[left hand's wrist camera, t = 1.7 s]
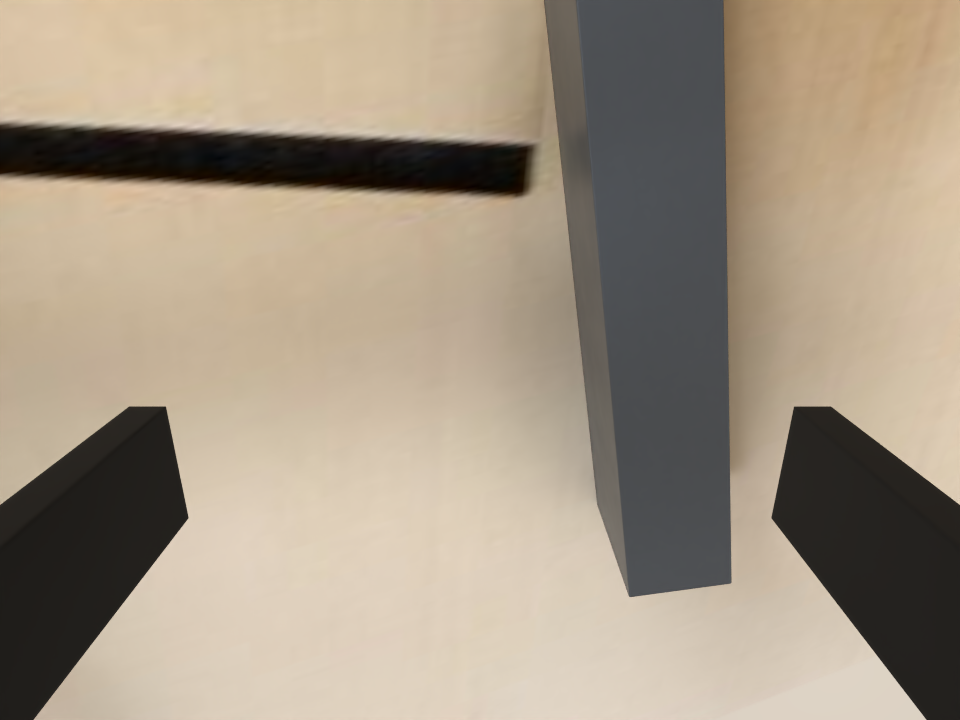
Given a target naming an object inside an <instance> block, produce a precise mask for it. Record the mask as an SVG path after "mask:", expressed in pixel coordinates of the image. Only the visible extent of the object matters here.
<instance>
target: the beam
mask: <svg viewBox="0 0 960 720" xmlns="http://www.w3.org/2000/svg"><path fill="white" fill-rule="evenodd" d="M544 4H545V13H546V23H547V32H548V42H549V51H550V61H551V70H552V79H553V89H554V98H555V108H556V117H557V127H558V136H559V146H560V155H561V165H562V174H563V184H564V193H565V203H566V212H567V222H568V231H569V240H570V250H571V259H572V269H573V278H574V288H575V297H576V307H577V316H578V326H579V335H580V345H581V354H582V364H583V373H584V382H585V392H586V401H587V411H588V420H589V430H590V439H591V449H592V458H593V468H594V477H595V487H596V496H597V505H598V508H599V511H600V514H601V517H602V519H603V522H604V525H605V528H606V531H607V534H608V537H609V540H610V543H611V546H612V548H613V551H614V554H615V557H616V560H617V563H618V566H619V569H620V572H621V574H622V577H623V580H624V583H625V586H626V589H627V592H628V595H629V597H634V596H642V595H649V594H656V593H664V592H671V591H679V590H686V589H693V588H701V587H708V586H716V585H723V584H730V583H731V522H730V449H729V375H728V302H727V229H726V156H725V83H724V10H723V0H544Z"/></svg>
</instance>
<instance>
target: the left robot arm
mask: <svg viewBox="0 0 960 720" xmlns="http://www.w3.org/2000/svg"><path fill="white" fill-rule="evenodd" d="M187 519H188V513H187V508H186V503H185V498H184V493H183V488H182V484H181V479H180V474H179V469H178V464H177V459H176V454H175V449H174V444H173V439H172V434H171V430H170V425H169V420H168V415H167V410H166V407H128V408H127V409H125V410H124V411H123V412H122V413H120V414H119V415H118V416H116V417H115V418H114V419H112V420H111V421H110V422H108V423H107V424H106V425H104V426H103V427H102V428H101V429H99V430H98V431H97V432H95V433H94V434H93V435H91V436H90V437H89V438H87V439H86V440H85V441H84V442H82V443H81V444H80V445H78V446H77V447H76V448H74V449H73V450H72V451H70V452H69V453H68V454H66V455H65V456H64V457H63V458H61V459H60V460H59V461H57V462H56V463H55V464H53V465H52V466H51V467H49V468H48V469H47V470H46V471H44V472H43V473H42V474H40V475H39V476H38V477H36V478H35V479H34V480H32V481H31V482H30V483H28V484H27V485H26V486H25V487H23V488H22V489H21V490H19V491H18V492H17V493H15V494H14V495H13V496H11V497H10V498H9V499H7V500H6V501H5V502H4V503H2V504H1V505H0V720H34V718H35V717H36V716H37V714H38V713H39V712H40V711H41V709H42V708H43V707H44V705H45V704H46V703H47V701H48V700H49V699H50V698H51V696H52V695H53V694H54V692H55V691H56V690H57V688H58V687H59V686H60V685H61V683H62V682H63V681H64V679H65V678H66V677H67V675H68V674H69V673H70V672H71V670H72V669H73V668H74V666H75V665H76V664H77V662H78V661H79V660H80V658H81V657H82V656H83V655H84V653H85V652H86V651H87V649H88V648H89V647H90V645H91V644H92V643H93V642H94V640H95V639H96V638H97V636H98V635H99V634H100V632H101V631H102V630H103V629H104V627H105V626H106V625H107V623H108V622H109V621H110V619H111V618H112V617H113V616H114V614H115V613H116V612H117V610H118V609H119V608H120V606H121V605H122V604H123V603H124V601H125V600H126V599H127V597H128V596H129V595H130V593H131V592H132V591H133V590H134V588H135V587H136V586H137V584H138V583H139V582H140V580H141V579H142V578H143V577H144V575H145V574H146V573H147V571H148V570H149V569H150V567H151V566H152V565H153V564H154V562H155V561H156V560H157V558H158V557H159V556H160V554H161V553H162V552H163V551H164V549H165V548H166V547H167V545H168V544H169V543H170V541H171V540H172V539H173V538H174V536H175V535H176V534H177V532H178V531H179V530H180V528H181V527H182V526H183V525H184V523H185V522H186V521H187ZM772 519H773V521H774V522H775V523H776V525H777V526H778V527H779V528H780V530H781V531H782V532H783V534H784V535H785V536H786V538H787V539H788V540H789V541H790V543H791V544H792V545H793V547H794V548H795V549H796V551H797V552H798V553H799V554H800V556H801V557H802V558H803V560H804V561H805V562H806V564H807V565H808V566H809V567H810V569H811V570H812V571H813V573H814V574H815V575H816V577H817V578H818V579H819V580H820V582H821V583H822V584H823V586H824V587H825V588H826V590H827V591H828V592H829V593H830V595H831V596H832V597H833V599H834V600H835V601H836V603H837V604H838V605H839V606H840V608H841V609H842V610H843V612H844V613H845V614H846V616H847V617H848V618H849V619H850V621H851V622H852V623H853V625H854V626H855V627H856V629H857V630H858V631H859V632H860V634H861V635H862V636H863V638H864V639H865V640H866V642H867V643H868V644H869V645H870V647H871V648H872V649H873V651H874V652H875V653H876V655H877V656H878V657H879V658H880V660H881V661H882V662H883V664H884V665H885V666H886V668H887V669H888V670H889V672H890V673H891V674H892V675H893V677H894V678H895V679H896V681H897V682H898V683H899V684H900V686H901V687H902V688H903V690H904V691H905V692H906V694H907V695H908V696H909V697H910V699H911V700H912V701H913V703H914V704H915V705H916V707H917V708H918V709H919V711H920V712H921V713H922V714H923V716H924V717H925V718H926V720H960V505H959V504H958V503H956V502H955V501H954V500H953V499H951V498H950V497H949V496H947V495H946V494H945V493H943V492H942V491H941V490H939V489H938V488H937V487H935V486H934V485H933V484H932V483H930V482H929V481H928V480H926V479H925V478H924V477H922V476H921V475H920V474H918V473H917V472H916V471H914V470H913V469H912V468H911V467H909V466H908V465H907V464H905V463H904V462H903V461H901V460H900V459H899V458H897V457H896V456H895V455H894V454H892V453H891V452H890V451H888V450H887V449H886V448H884V447H883V446H882V445H880V444H879V443H878V442H876V441H875V440H874V439H873V438H871V437H870V436H869V435H867V434H866V433H865V432H863V431H862V430H861V429H859V428H858V427H857V426H856V425H854V424H853V423H852V422H850V421H849V420H848V419H846V418H845V417H844V416H842V415H841V414H840V413H838V412H837V411H836V410H835V409H833V408H832V407H794V410H793V415H792V420H791V425H790V430H789V434H788V439H787V444H786V449H785V454H784V459H783V464H782V469H781V474H780V479H779V484H778V488H777V493H776V498H775V503H774V508H773V513H772Z"/></svg>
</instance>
